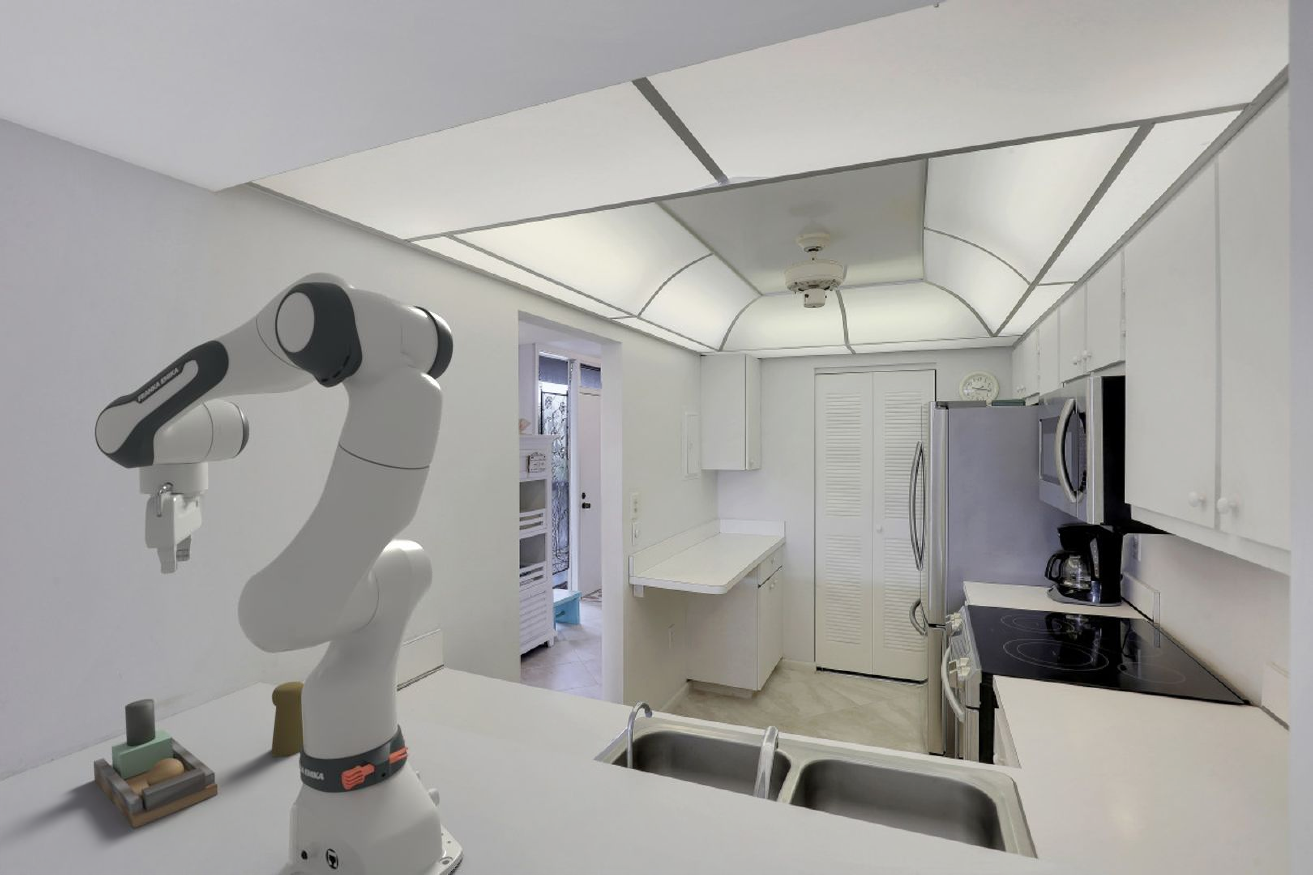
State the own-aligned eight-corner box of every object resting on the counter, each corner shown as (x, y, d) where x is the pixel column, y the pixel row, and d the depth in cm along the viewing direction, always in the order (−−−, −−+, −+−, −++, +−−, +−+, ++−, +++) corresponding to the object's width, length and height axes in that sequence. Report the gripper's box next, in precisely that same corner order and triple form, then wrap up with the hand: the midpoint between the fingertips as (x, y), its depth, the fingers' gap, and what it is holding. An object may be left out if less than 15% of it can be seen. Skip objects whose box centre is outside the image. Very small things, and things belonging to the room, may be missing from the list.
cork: (293, 757, 106) (290, 692, 106) (262, 754, 108) (259, 690, 108) (319, 739, 112) (316, 678, 112) (289, 737, 114) (287, 676, 113)
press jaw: (173, 761, 103) (170, 700, 103) (121, 780, 98) (118, 716, 98) (163, 752, 106) (160, 693, 106) (112, 770, 101) (109, 708, 101)
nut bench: (217, 793, 96) (216, 767, 96) (134, 828, 88) (133, 799, 88) (170, 753, 109) (169, 730, 109) (94, 779, 101) (93, 754, 101)
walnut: (188, 786, 96) (187, 757, 96) (152, 800, 92) (151, 770, 92) (179, 777, 98) (177, 749, 98) (143, 791, 95) (142, 762, 95)
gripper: (184, 485, 94) (186, 578, 94) (210, 475, 112) (211, 552, 113) (130, 487, 91) (132, 583, 92) (166, 476, 110) (168, 556, 110)
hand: (176, 566), depth 102 cm, fingers open, 8 cm apart
